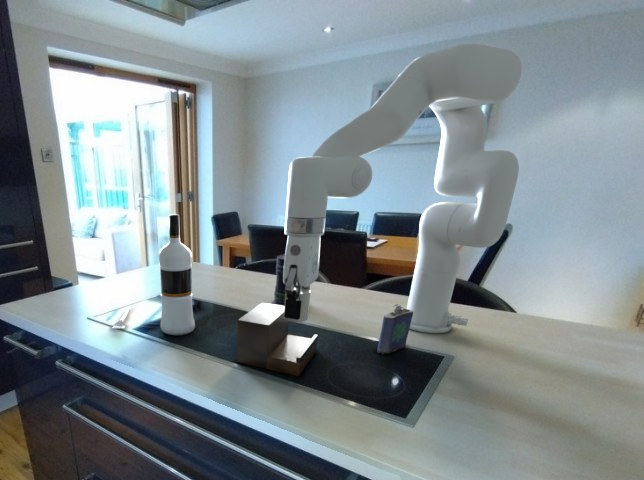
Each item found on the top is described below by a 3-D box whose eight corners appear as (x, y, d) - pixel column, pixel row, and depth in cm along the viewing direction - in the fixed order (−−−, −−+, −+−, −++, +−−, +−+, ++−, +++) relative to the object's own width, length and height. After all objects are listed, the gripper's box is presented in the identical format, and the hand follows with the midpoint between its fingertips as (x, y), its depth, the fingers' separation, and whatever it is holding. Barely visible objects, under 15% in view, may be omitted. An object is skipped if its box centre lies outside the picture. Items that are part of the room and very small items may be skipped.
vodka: (154, 333, 103) (147, 215, 91) (171, 322, 111) (167, 212, 99) (184, 339, 99) (181, 216, 88) (200, 327, 107) (199, 213, 95)
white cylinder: (310, 316, 84) (313, 289, 82) (303, 323, 80) (306, 295, 78) (287, 312, 86) (290, 286, 84) (280, 319, 82) (282, 292, 80)
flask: (384, 355, 89) (392, 310, 84) (372, 350, 91) (380, 307, 87) (408, 346, 93) (417, 303, 89) (396, 342, 95) (405, 300, 91)
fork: (135, 309, 122) (134, 303, 121) (121, 333, 103) (121, 326, 103) (124, 309, 122) (124, 303, 121) (109, 333, 103) (108, 326, 103)
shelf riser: (316, 351, 91) (320, 311, 87) (298, 376, 80) (303, 331, 76) (259, 340, 98) (261, 302, 94) (236, 361, 87) (237, 319, 83)
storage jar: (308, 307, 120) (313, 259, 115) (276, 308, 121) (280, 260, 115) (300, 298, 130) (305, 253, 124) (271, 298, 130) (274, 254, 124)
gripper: (312, 232, 67) (302, 330, 74) (333, 222, 81) (323, 306, 88) (270, 230, 71) (264, 323, 78) (298, 221, 84) (291, 301, 91)
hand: (296, 313), depth 83 cm, fingers closed on white cylinder, 5 cm apart
